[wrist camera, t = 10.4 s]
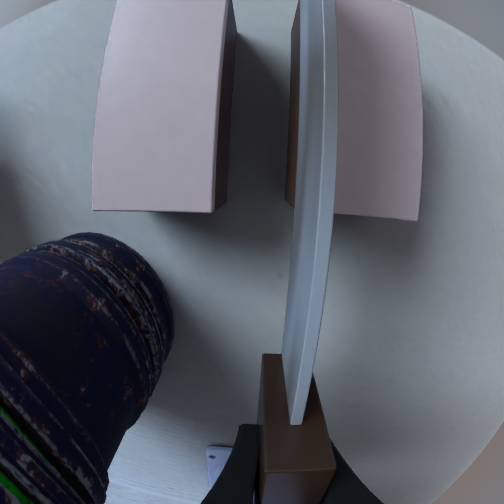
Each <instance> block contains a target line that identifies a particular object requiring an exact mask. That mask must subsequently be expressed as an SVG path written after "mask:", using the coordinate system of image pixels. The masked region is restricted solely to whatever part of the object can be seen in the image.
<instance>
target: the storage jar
mask: <svg viewBox="0 0 504 504" xmlns="http://www.w3.org/2000/svg"><path fill="white" fill-rule="evenodd" d="M173 337H174V319H173V312H172V308H171V304H170V301H169V298H168V296H167V293H166V291H165V289H164V287H163V285H162V283H161V281H160V280H159V278H158V277H157V275H156V273H155V272H154V271H153V269H152V268H151V267H150V266H149V265H148V263H147V262H146V261H145V260H144V259H143V258H142V257H141V256H140V255H139V254H138V253H137V252H135V251H134V250H133V249H131V248H130V247H128V246H127V245H126V244H124V243H122V242H120V241H118V240H116V239H114V238H113V237H109V236H106V235H103V234H99V233H91V232H86V233H77V234H74V235H70V236H67V237H65V238H63V239H61V240H57V241H49V242H46V243H43V244H40V245H37V246H34V247H32V248H29V249H27V250H26V251H24V252H23V253H21V254H20V255H18V256H15V257H13V258H11V259H8V260H6V261H5V262H3V263H2V264H0V504H104V503H105V500H106V491H107V488H108V484H109V478H108V472H107V470H108V468H109V466H110V464H111V462H112V460H113V457H114V455H115V453H116V451H117V449H118V447H119V445H120V443H121V440H122V438H123V436H124V434H125V432H126V430H128V429H129V428H130V427H131V426H133V425H134V424H135V423H136V421H137V420H138V419H139V417H140V415H141V413H142V412H143V411H144V409H145V408H146V406H147V403H148V401H149V398H150V397H151V395H152V393H153V391H154V389H155V386H156V384H157V382H158V380H159V377H160V374H161V370H162V365H163V363H164V362H165V360H166V358H167V356H168V354H169V351H170V349H171V347H172V342H173Z"/></svg>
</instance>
